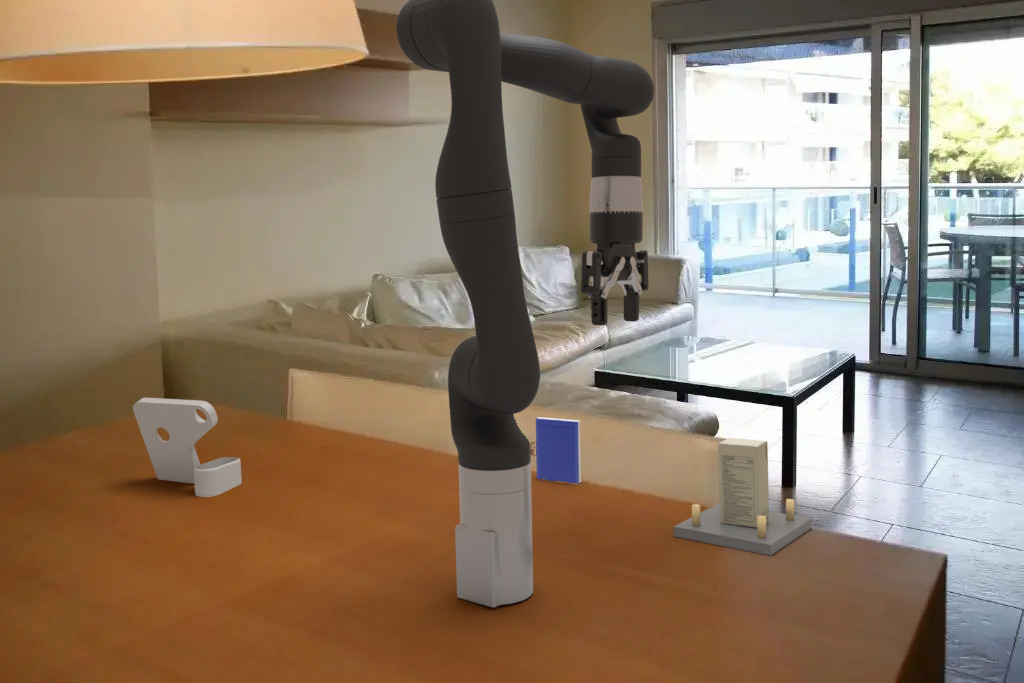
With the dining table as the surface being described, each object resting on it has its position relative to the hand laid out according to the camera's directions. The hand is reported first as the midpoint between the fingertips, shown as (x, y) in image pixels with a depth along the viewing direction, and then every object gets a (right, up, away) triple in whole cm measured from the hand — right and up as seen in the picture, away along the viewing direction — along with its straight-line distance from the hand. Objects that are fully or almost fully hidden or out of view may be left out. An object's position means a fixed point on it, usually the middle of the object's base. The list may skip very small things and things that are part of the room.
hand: (615, 323), depth 140 cm
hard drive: (-7, -29, +30) cm, 42 cm away
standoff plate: (+19, -31, +4) cm, 37 cm away
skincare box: (+19, -30, +4) cm, 36 cm away
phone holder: (-72, -30, +31) cm, 84 cm away
